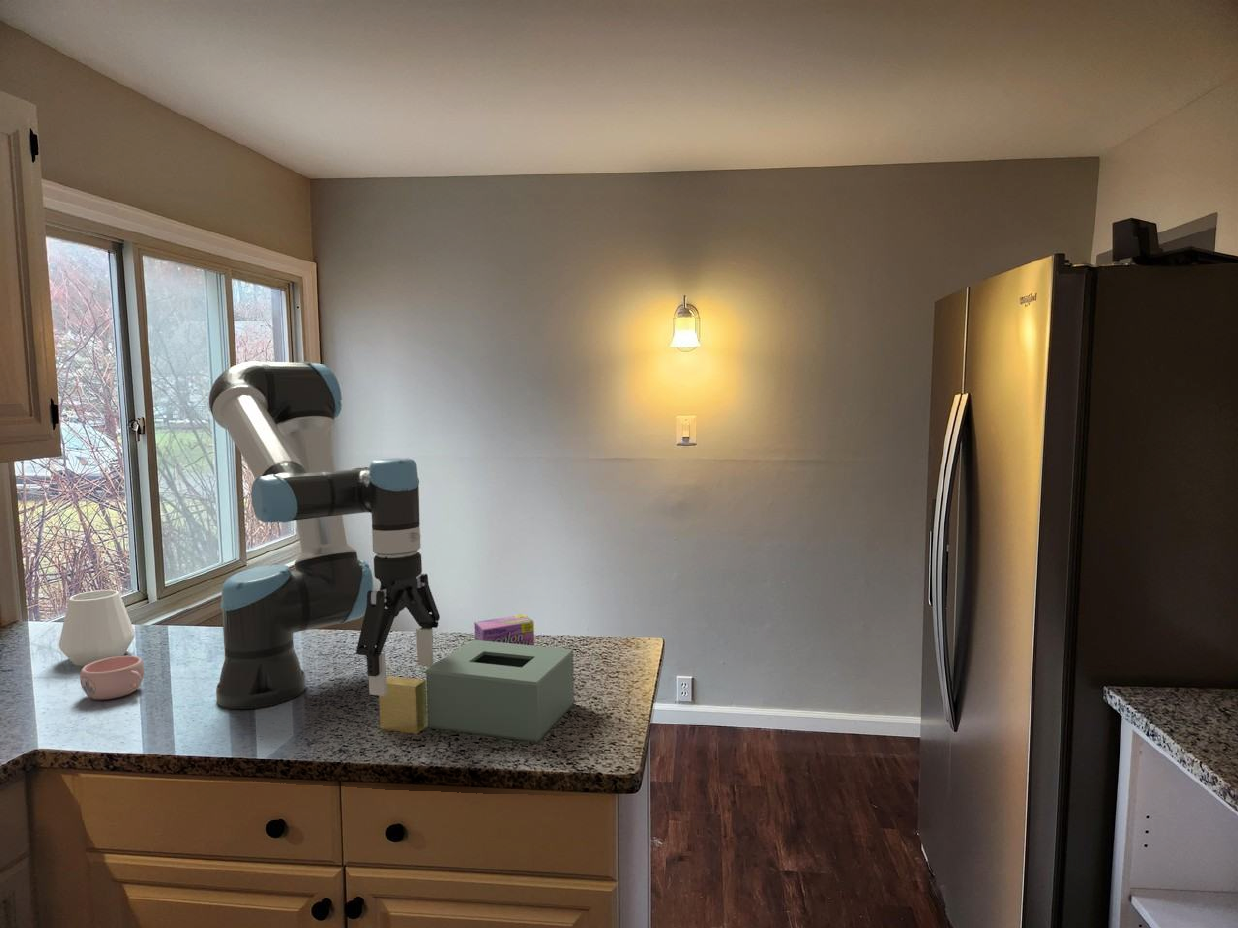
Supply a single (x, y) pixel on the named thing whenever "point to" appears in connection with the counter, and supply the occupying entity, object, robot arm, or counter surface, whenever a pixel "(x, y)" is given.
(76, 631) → the white faceted vase
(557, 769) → the counter surface
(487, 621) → the box
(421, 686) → the tan rectangular block
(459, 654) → the box
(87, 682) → the mug
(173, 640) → the counter surface
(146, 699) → the counter surface
